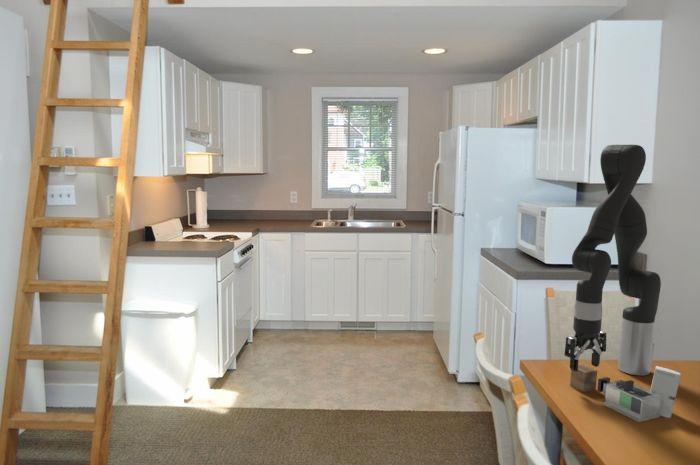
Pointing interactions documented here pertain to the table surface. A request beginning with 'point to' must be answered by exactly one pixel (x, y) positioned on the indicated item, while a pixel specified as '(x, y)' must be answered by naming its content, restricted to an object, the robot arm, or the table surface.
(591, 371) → the walnut block
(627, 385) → the dark gray block
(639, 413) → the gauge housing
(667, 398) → the skincare box
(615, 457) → the table surface
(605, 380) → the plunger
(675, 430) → the table surface
